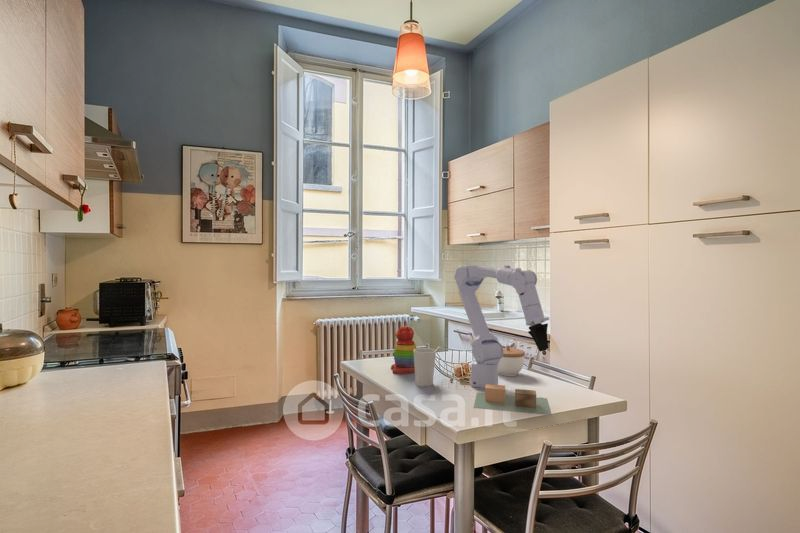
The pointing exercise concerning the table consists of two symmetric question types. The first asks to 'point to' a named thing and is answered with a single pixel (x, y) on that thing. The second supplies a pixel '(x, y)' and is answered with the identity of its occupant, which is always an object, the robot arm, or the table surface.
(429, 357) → the cup
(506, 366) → the lidded bowl
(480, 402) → the baseplate
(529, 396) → the walnut base brick
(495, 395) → the terracotta brick
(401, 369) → the stacking bear
